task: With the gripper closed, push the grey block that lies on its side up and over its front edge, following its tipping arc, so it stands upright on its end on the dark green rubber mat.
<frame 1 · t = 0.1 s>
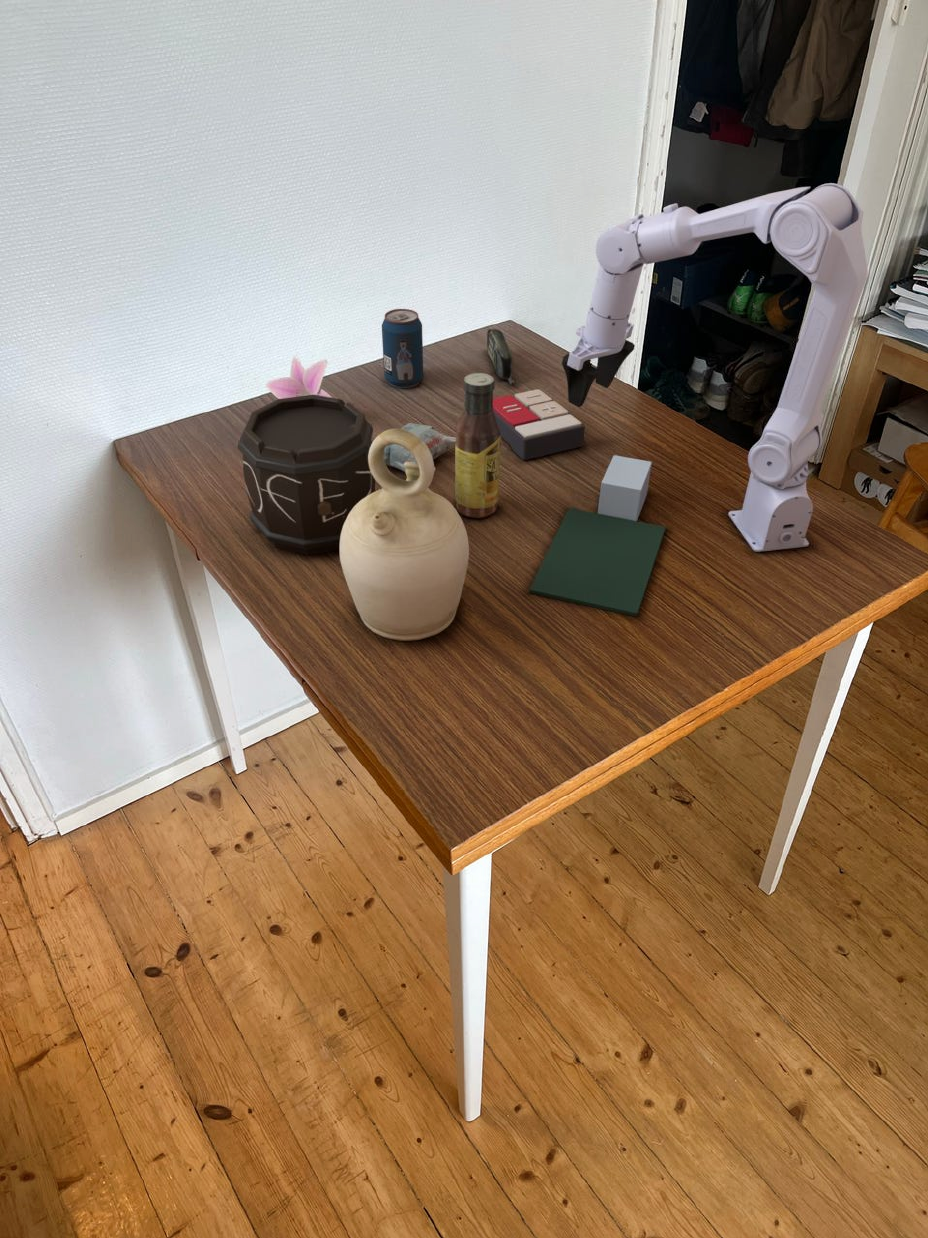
hand: (588, 394, 138), 10 cm above the table, tool pointing down, fingers open, 7 cm apart
octagonal coffee canister: (317, 524, 130), on the table
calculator: (531, 433, 150), on the table
soda can: (404, 381, 164), on the table
sauce bottle: (476, 508, 134), on the table
lily: (305, 419, 154), on the table
packaged food: (415, 463, 143), on the table
jug: (407, 610, 116), on the table
rubber mat: (600, 560, 124), on the table
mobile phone: (500, 369, 168), on the table
grey block: (624, 488, 132), point 3 cm above the table
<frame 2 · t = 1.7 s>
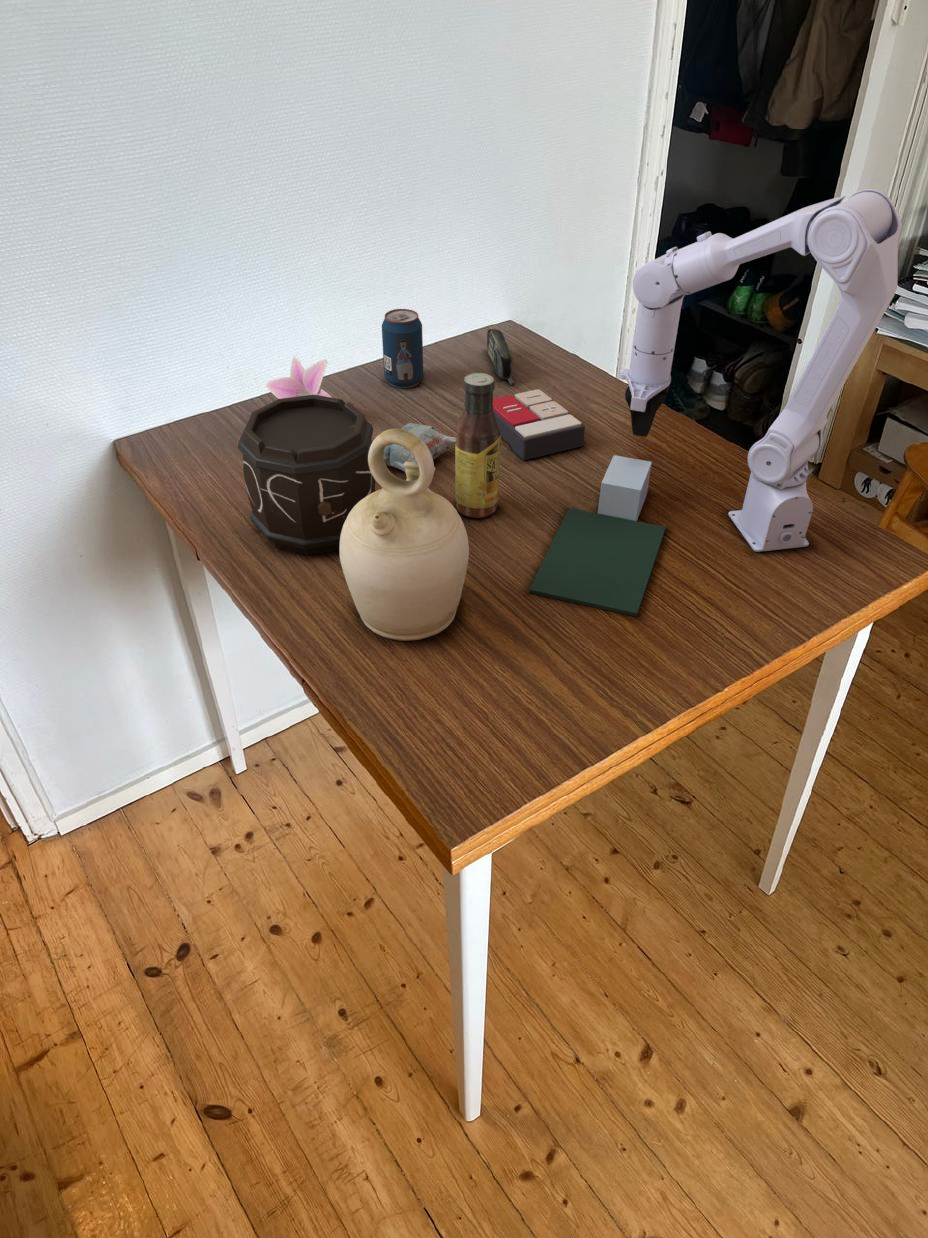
hand: (640, 433, 136), 7 cm above the table, tool pointing down, fingers closed
nothing on the table moved.
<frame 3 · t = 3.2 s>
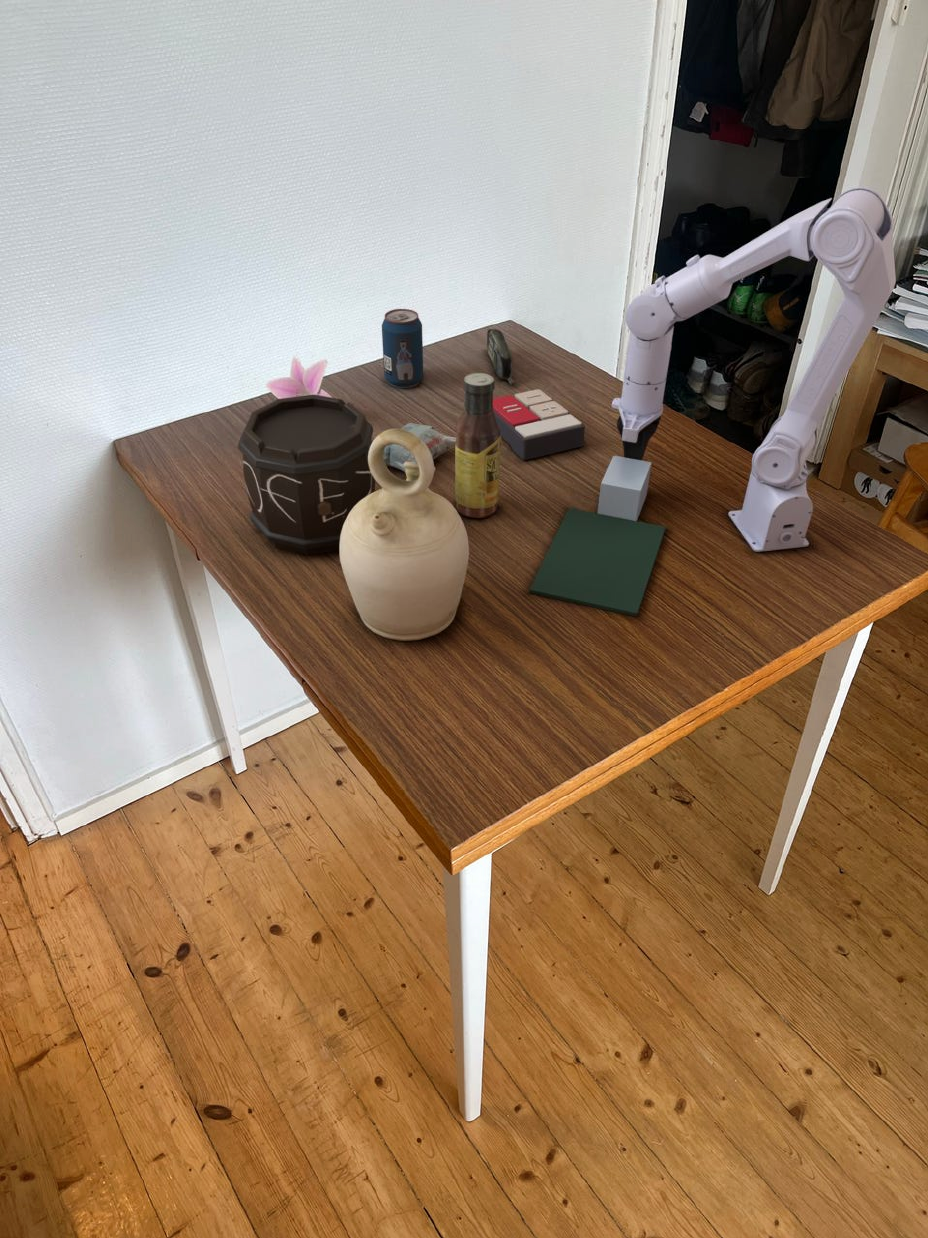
hand: (632, 462, 135), 4 cm above the table, tool pointing down, fingers closed
grey block: (624, 489, 132), point 3 cm above the table, touching gripper
everything else where it was.
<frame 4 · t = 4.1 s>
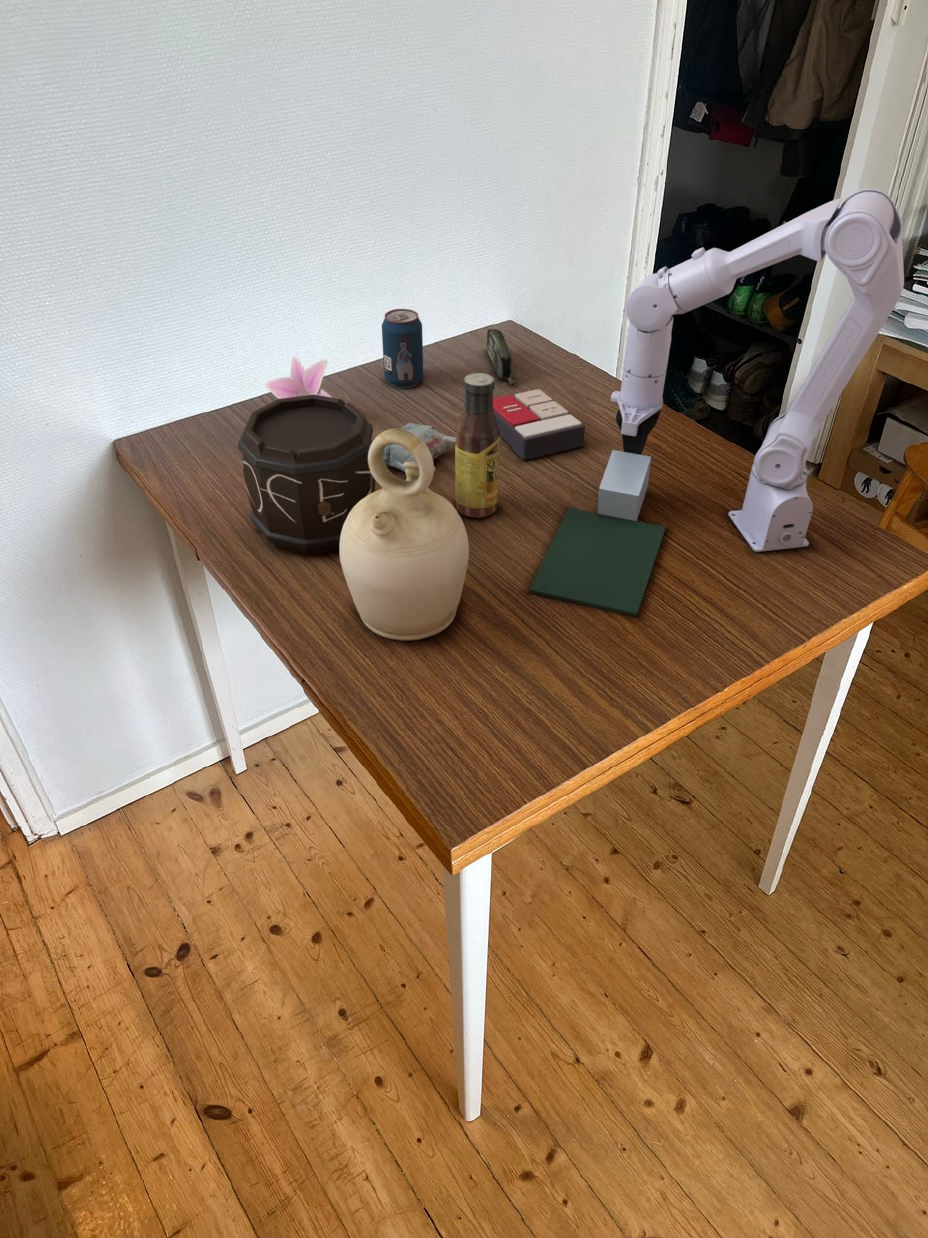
hand: (632, 456, 133), 6 cm above the table, tool pointing down, fingers closed
grey block: (624, 486, 131), point 4 cm above the table, tilted 14°, touching gripper, rubber mat
everything else where it was.
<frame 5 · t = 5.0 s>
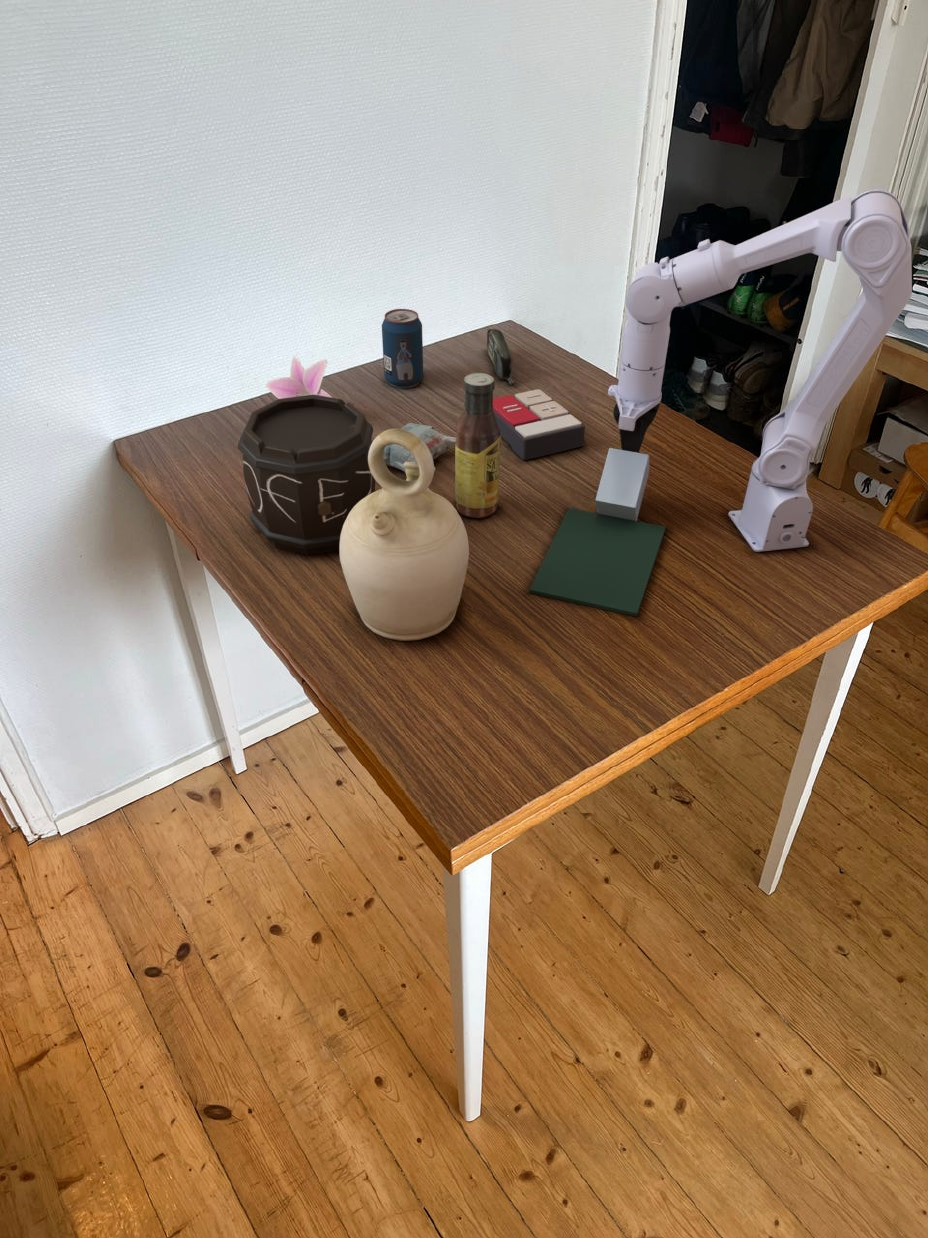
hand: (630, 452, 129), 8 cm above the table, tool pointing down, fingers closed
grey block: (622, 485, 130), point 5 cm above the table, tilted 37°, touching gripper, rubber mat
everything else where it was.
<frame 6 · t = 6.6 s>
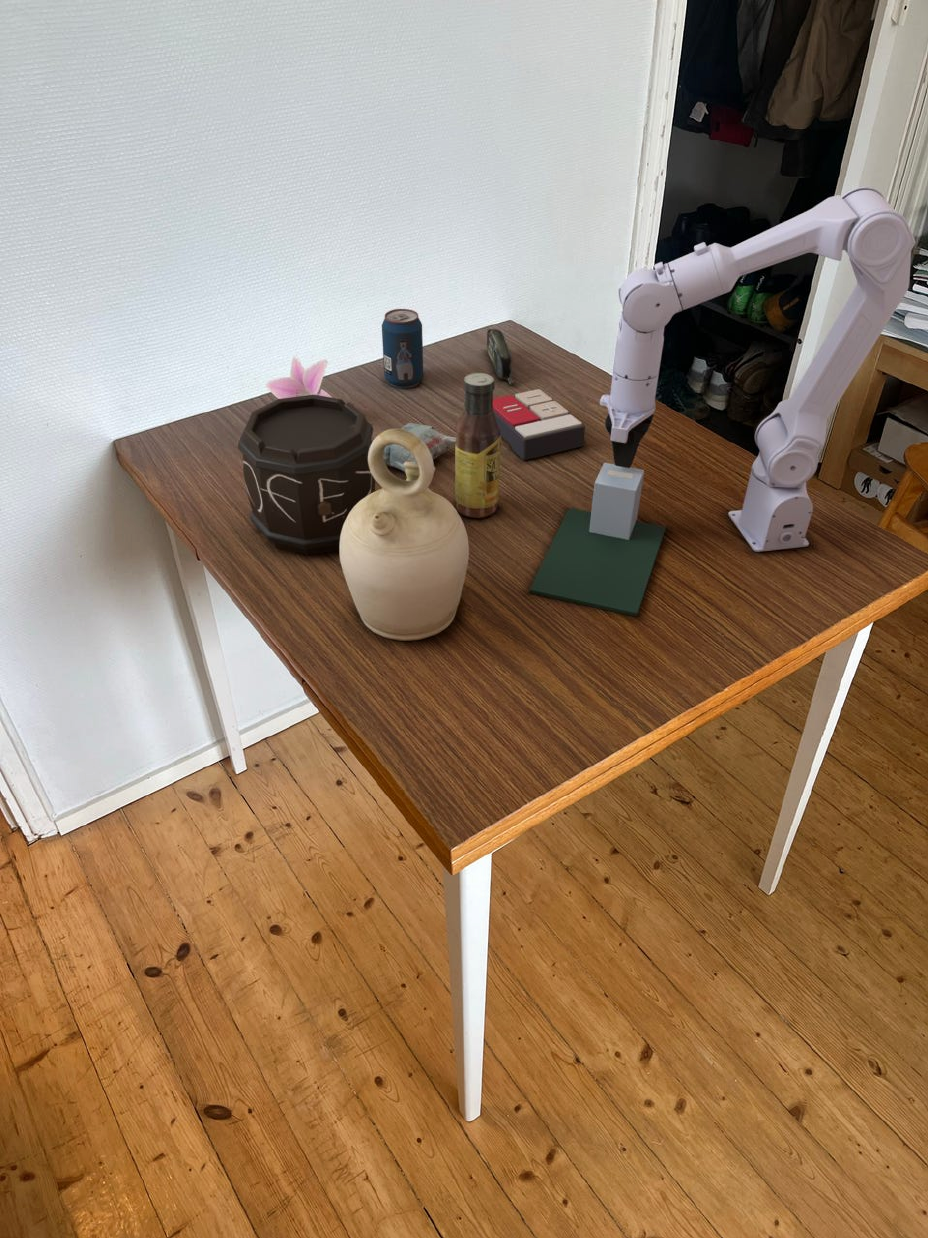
hand: (623, 464, 125), 9 cm above the table, tool pointing down, fingers closed
grey block: (616, 501, 127), point 5 cm above the table, tilted 90°, touching rubber mat
everything else where it was.
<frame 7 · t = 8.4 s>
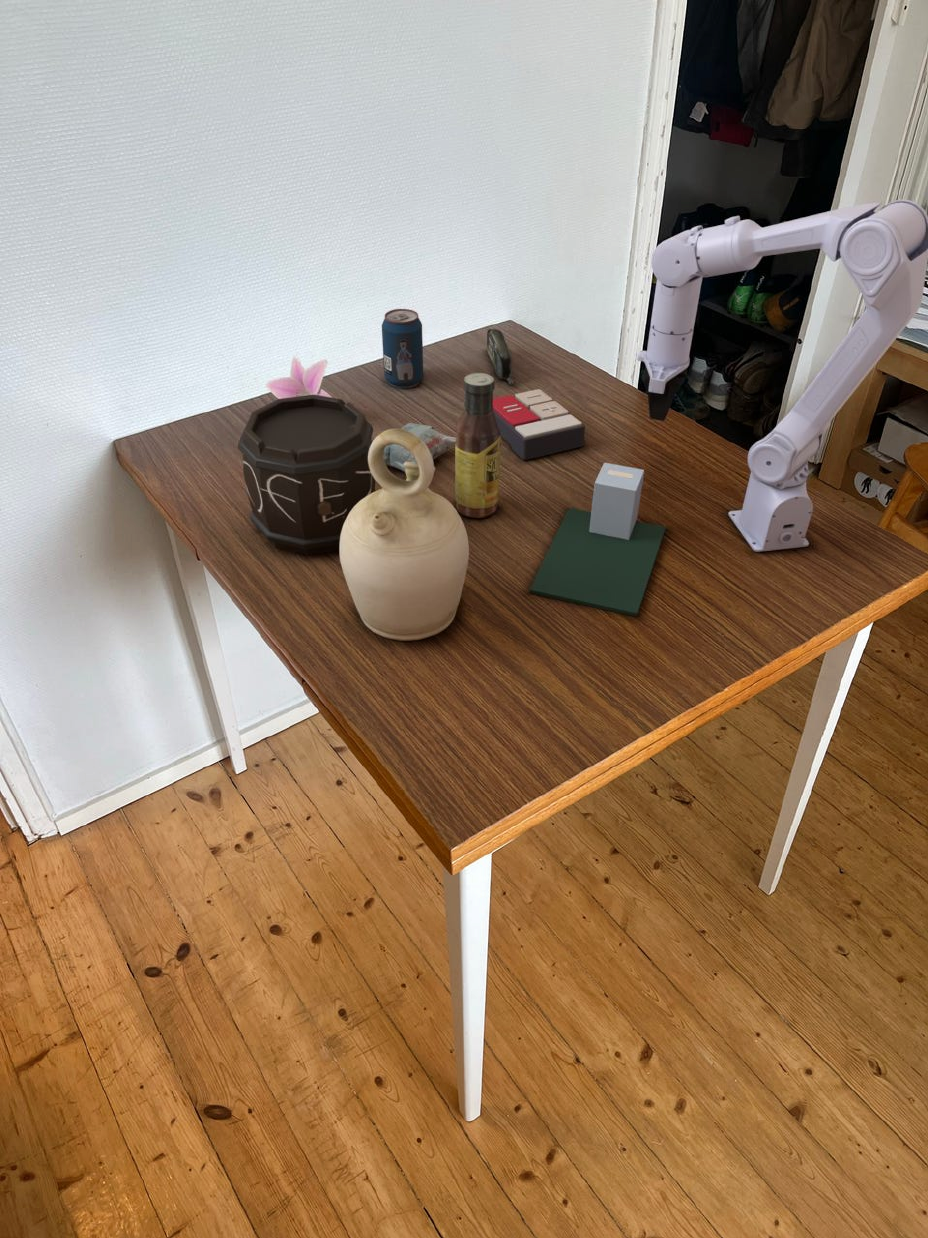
hand: (657, 417, 133), 10 cm above the table, tool pointing down, fingers closed
nothing on the table moved.
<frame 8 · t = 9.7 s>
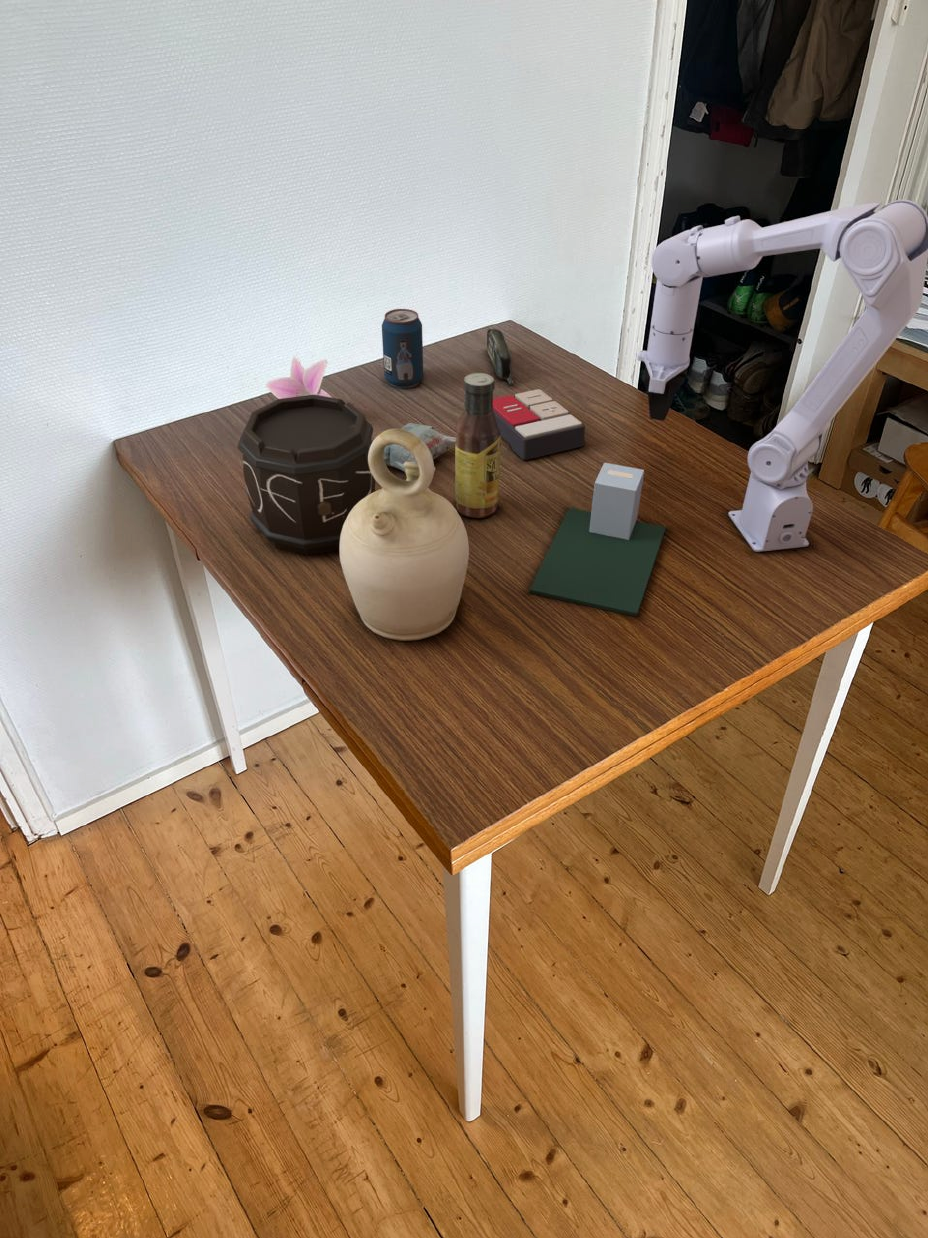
hand: (657, 417, 133), 10 cm above the table, tool pointing down, fingers closed
nothing on the table moved.
at the end: grey block tilted 90°; grey block inside the target area (0.1 cm from its centre), point 4.6 cm above the table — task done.
